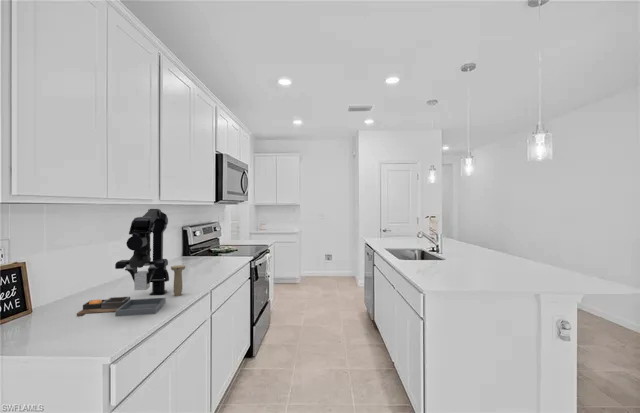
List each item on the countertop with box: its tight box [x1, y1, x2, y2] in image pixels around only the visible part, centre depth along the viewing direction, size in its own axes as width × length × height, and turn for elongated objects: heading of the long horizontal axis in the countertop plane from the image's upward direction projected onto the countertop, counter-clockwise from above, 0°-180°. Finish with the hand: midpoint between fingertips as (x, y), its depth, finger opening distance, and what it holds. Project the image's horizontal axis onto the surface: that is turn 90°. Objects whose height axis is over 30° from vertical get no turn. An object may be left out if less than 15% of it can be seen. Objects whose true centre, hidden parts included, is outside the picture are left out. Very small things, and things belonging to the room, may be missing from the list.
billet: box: [133, 270, 151, 291], centre depth 129 cm, size 4×4×7 cm
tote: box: [114, 297, 167, 317], centre depth 129 cm, size 15×15×3 cm
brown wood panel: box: [76, 296, 131, 317], centre depth 131 cm, size 15×16×4 cm
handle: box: [170, 264, 186, 297], centre depth 149 cm, size 5×6×15 cm
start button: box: [88, 299, 103, 304], centre depth 130 cm, size 4×4×2 cm
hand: (142, 283), depth 129 cm, fingers closed on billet, 4 cm apart
